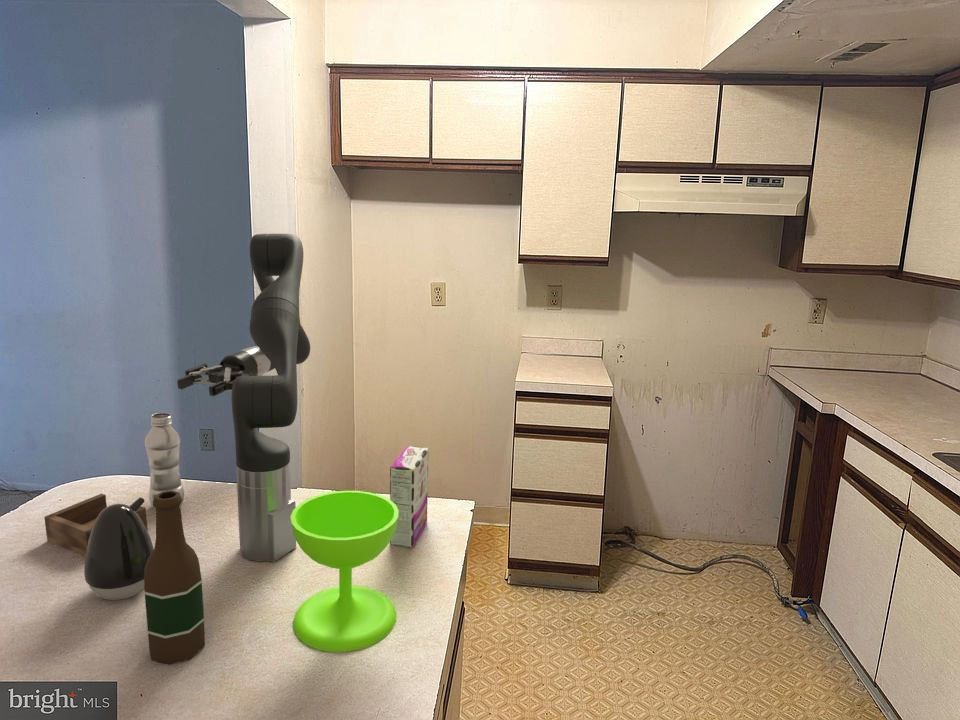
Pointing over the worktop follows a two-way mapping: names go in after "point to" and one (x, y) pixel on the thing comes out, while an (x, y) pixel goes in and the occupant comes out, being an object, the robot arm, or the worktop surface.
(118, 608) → the worktop surface
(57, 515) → the u rest
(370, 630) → the wineglass
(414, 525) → the candy bar box
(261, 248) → the robot arm
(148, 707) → the worktop surface
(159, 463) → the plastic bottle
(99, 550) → the black egg-shaped dispenser
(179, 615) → the beer bottle
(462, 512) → the worktop surface
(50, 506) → the worktop surface
